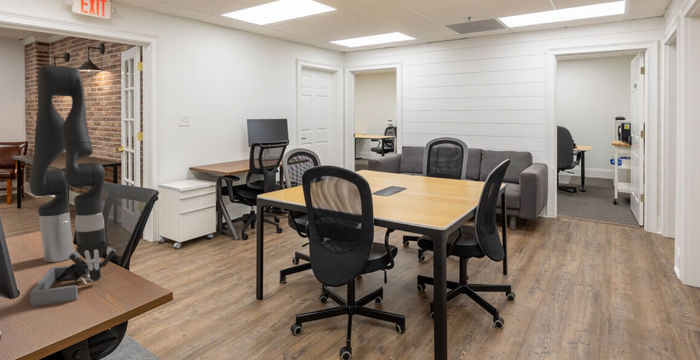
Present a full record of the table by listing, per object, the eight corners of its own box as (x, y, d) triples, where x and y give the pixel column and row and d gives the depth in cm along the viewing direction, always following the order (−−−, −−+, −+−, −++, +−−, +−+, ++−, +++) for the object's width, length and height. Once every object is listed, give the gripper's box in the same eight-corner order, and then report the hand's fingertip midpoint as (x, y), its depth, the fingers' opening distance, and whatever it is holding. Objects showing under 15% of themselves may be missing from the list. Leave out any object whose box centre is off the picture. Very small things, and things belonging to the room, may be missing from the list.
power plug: (62, 274, 139) (87, 255, 137) (76, 293, 140) (101, 274, 137) (48, 281, 134) (73, 262, 131) (62, 300, 134) (88, 281, 132)
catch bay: (52, 279, 138) (50, 267, 137) (91, 274, 142) (89, 263, 141) (31, 306, 118) (29, 292, 118) (77, 299, 122) (75, 286, 122)
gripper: (116, 222, 136) (120, 273, 139) (68, 226, 131) (74, 279, 134) (113, 228, 129) (118, 281, 132) (62, 232, 124) (68, 288, 127)
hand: (95, 280), depth 133 cm, fingers closed
